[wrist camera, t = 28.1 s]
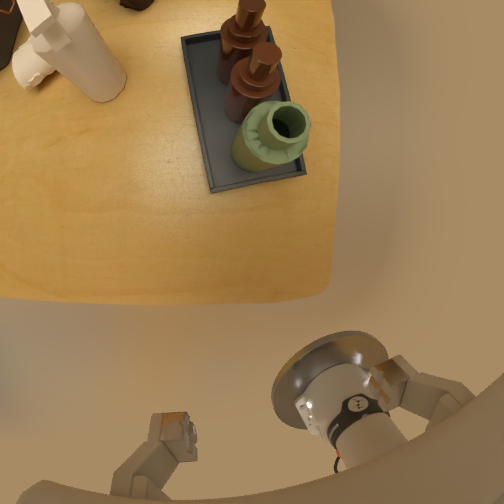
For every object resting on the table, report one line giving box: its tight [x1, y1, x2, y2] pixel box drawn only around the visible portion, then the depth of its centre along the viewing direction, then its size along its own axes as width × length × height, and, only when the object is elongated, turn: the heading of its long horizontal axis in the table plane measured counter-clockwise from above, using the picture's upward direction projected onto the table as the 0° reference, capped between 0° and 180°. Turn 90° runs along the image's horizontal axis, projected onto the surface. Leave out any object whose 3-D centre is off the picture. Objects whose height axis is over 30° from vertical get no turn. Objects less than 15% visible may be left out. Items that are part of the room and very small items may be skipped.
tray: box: [181, 26, 307, 193], centre depth 33 cm, size 24×13×3 cm, turn 12°
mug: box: [12, 37, 56, 90], centre depth 23 cm, size 12×9×8 cm
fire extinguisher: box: [17, 0, 127, 103], centre depth 18 cm, size 7×12×25 cm, turn 32°
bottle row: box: [216, 0, 282, 124], centre depth 25 cm, size 11×5×18 cm, turn 12°
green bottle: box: [231, 101, 311, 172], centre depth 27 cm, size 6×6×18 cm
